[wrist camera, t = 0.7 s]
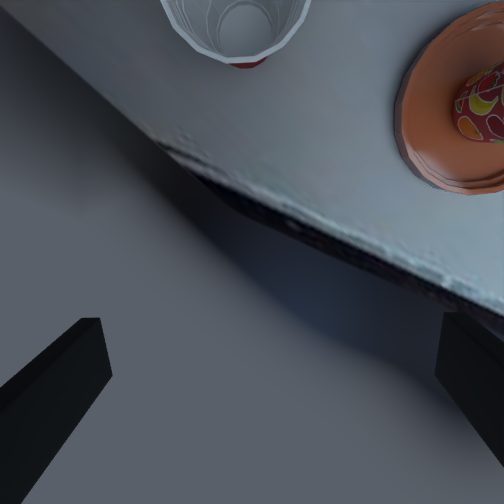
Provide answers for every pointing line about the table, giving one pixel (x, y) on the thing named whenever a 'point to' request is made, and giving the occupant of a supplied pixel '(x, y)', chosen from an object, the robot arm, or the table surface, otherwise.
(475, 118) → the smoothie
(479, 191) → the plate
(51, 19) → the table surface
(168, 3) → the plastic cup
